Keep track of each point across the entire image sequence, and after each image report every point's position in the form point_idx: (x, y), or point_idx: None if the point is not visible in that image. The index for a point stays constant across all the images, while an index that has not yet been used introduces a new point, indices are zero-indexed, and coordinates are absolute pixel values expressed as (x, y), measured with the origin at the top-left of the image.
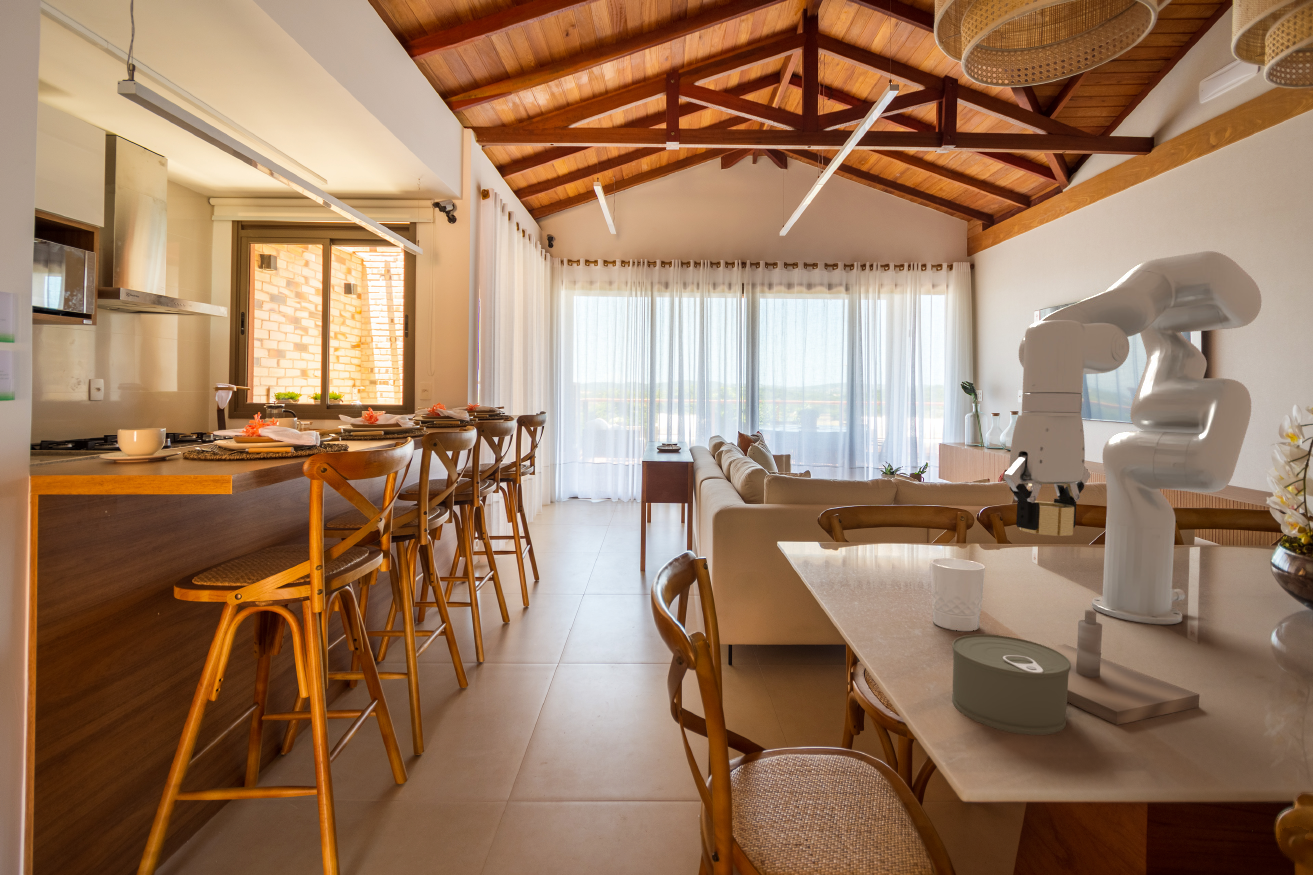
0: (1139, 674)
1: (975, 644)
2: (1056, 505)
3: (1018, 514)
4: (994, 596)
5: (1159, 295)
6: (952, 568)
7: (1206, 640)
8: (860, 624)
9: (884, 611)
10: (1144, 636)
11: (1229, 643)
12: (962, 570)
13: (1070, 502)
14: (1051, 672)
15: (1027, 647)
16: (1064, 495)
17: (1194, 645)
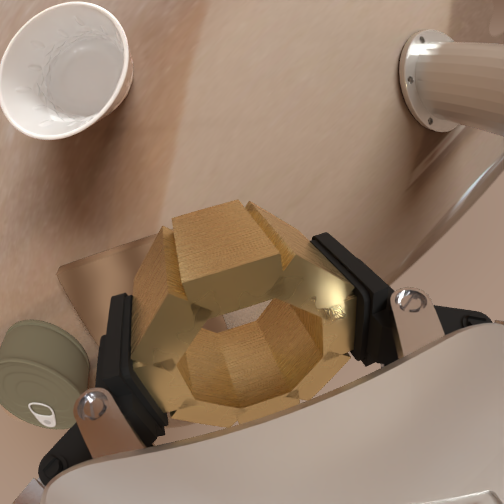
0: (216, 322)
1: (9, 374)
2: (319, 331)
3: (100, 353)
4: None
5: None
6: (16, 128)
7: (422, 182)
8: None
9: (11, 21)
10: (373, 158)
11: (432, 193)
12: (36, 137)
13: (358, 357)
14: (62, 425)
15: (58, 385)
16: (384, 347)
17: (397, 195)
